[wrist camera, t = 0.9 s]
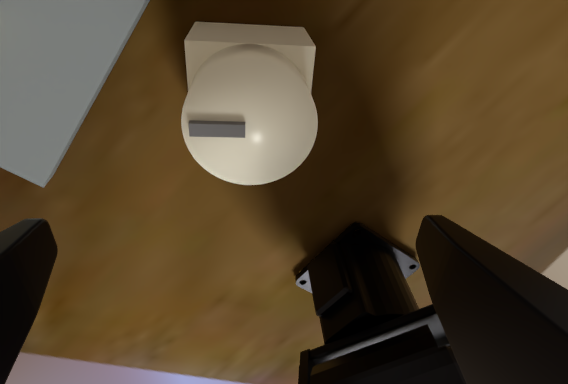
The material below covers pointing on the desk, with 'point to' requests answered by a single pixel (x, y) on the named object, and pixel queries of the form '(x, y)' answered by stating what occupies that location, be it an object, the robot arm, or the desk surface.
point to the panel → (54, 74)
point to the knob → (249, 100)
